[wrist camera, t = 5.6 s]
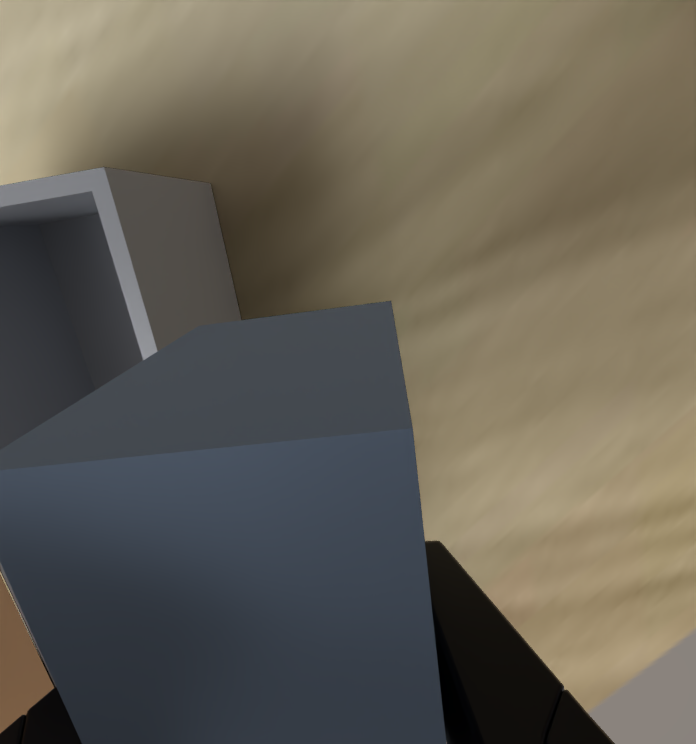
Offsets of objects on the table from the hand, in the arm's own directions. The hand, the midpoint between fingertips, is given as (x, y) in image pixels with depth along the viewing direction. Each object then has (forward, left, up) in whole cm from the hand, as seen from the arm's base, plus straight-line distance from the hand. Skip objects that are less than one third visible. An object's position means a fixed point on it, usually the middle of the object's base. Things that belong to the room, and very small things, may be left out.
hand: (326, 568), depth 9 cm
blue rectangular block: (0, 0, -1) cm, 1 cm away
